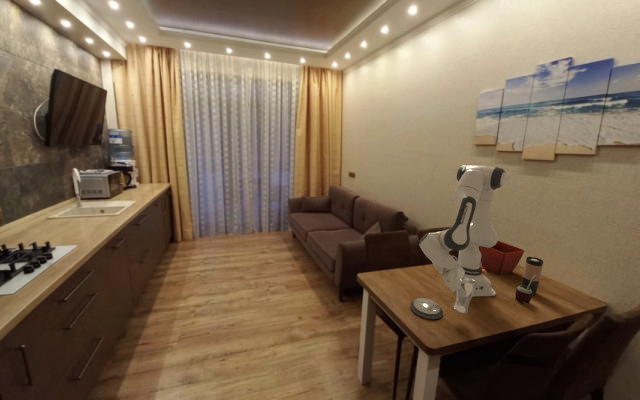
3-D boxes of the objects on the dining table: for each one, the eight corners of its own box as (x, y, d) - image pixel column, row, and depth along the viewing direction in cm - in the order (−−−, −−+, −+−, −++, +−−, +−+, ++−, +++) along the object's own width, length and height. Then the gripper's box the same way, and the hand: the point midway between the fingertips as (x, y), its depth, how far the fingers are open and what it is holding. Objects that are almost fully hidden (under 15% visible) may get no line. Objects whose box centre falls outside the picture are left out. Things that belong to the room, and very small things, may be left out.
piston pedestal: (436, 302, 139) (437, 297, 139) (447, 321, 125) (448, 315, 124) (406, 300, 140) (407, 295, 140) (414, 318, 126) (415, 312, 125)
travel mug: (537, 291, 155) (544, 259, 151) (535, 296, 150) (543, 263, 146) (520, 286, 160) (527, 255, 156) (518, 291, 155) (525, 259, 151)
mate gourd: (514, 302, 143) (519, 276, 141) (514, 295, 150) (519, 270, 147) (531, 307, 139) (537, 280, 136) (530, 300, 146) (536, 274, 143)
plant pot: (500, 278, 170) (505, 253, 167) (473, 265, 188) (477, 242, 184) (520, 274, 177) (525, 250, 174) (493, 262, 194) (497, 240, 191)
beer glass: (468, 308, 126) (475, 279, 122) (469, 316, 119) (477, 285, 116) (452, 303, 128) (458, 274, 125) (452, 310, 122) (459, 280, 119)
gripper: (447, 270, 115) (470, 298, 111) (455, 254, 131) (475, 279, 128) (435, 276, 118) (457, 304, 115) (444, 261, 135) (463, 284, 131)
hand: (466, 291), depth 121 cm, fingers closed on beer glass, 7 cm apart
